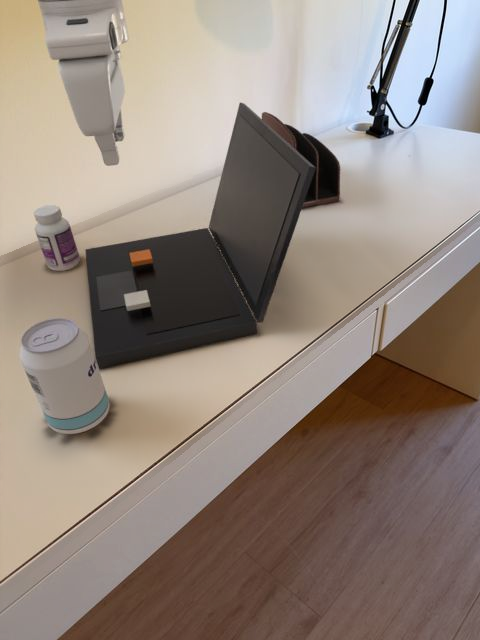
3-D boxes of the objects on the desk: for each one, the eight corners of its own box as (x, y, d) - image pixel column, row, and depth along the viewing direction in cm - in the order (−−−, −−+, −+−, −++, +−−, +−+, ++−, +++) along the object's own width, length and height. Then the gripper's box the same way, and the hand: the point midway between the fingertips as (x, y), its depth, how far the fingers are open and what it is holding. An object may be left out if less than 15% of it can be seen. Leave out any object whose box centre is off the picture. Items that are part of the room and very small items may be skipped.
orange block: (132, 266, 81) (131, 262, 80) (130, 257, 83) (129, 252, 83) (153, 262, 82) (152, 258, 81) (150, 253, 84) (149, 249, 83)
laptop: (99, 369, 67) (95, 356, 65) (88, 259, 89) (85, 248, 88) (257, 334, 71) (256, 321, 70) (208, 238, 94) (207, 227, 92)
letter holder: (292, 210, 101) (291, 134, 92) (261, 175, 116) (258, 106, 107) (340, 202, 103) (344, 126, 94) (304, 168, 118) (304, 100, 109)
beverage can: (115, 429, 59) (88, 345, 51) (51, 447, 57) (13, 363, 49) (107, 390, 64) (81, 308, 56) (48, 405, 62) (13, 323, 54)
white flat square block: (127, 311, 71) (126, 306, 71) (125, 299, 74) (123, 294, 73) (150, 306, 72) (149, 301, 72) (147, 294, 75) (146, 289, 74)
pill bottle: (79, 253, 91) (64, 200, 85) (81, 268, 87) (65, 213, 81) (47, 259, 90) (29, 206, 84) (47, 274, 86) (28, 219, 80)
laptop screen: (309, 166, 59) (316, 167, 59) (239, 102, 81) (244, 103, 82) (256, 322, 70) (262, 322, 70) (207, 227, 92) (212, 228, 93)
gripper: (71, 18, 67) (98, 130, 76) (41, 44, 51) (81, 182, 60) (121, 13, 68) (142, 125, 76) (107, 38, 52) (136, 176, 60)
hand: (115, 151), depth 68 cm, fingers open, 8 cm apart
